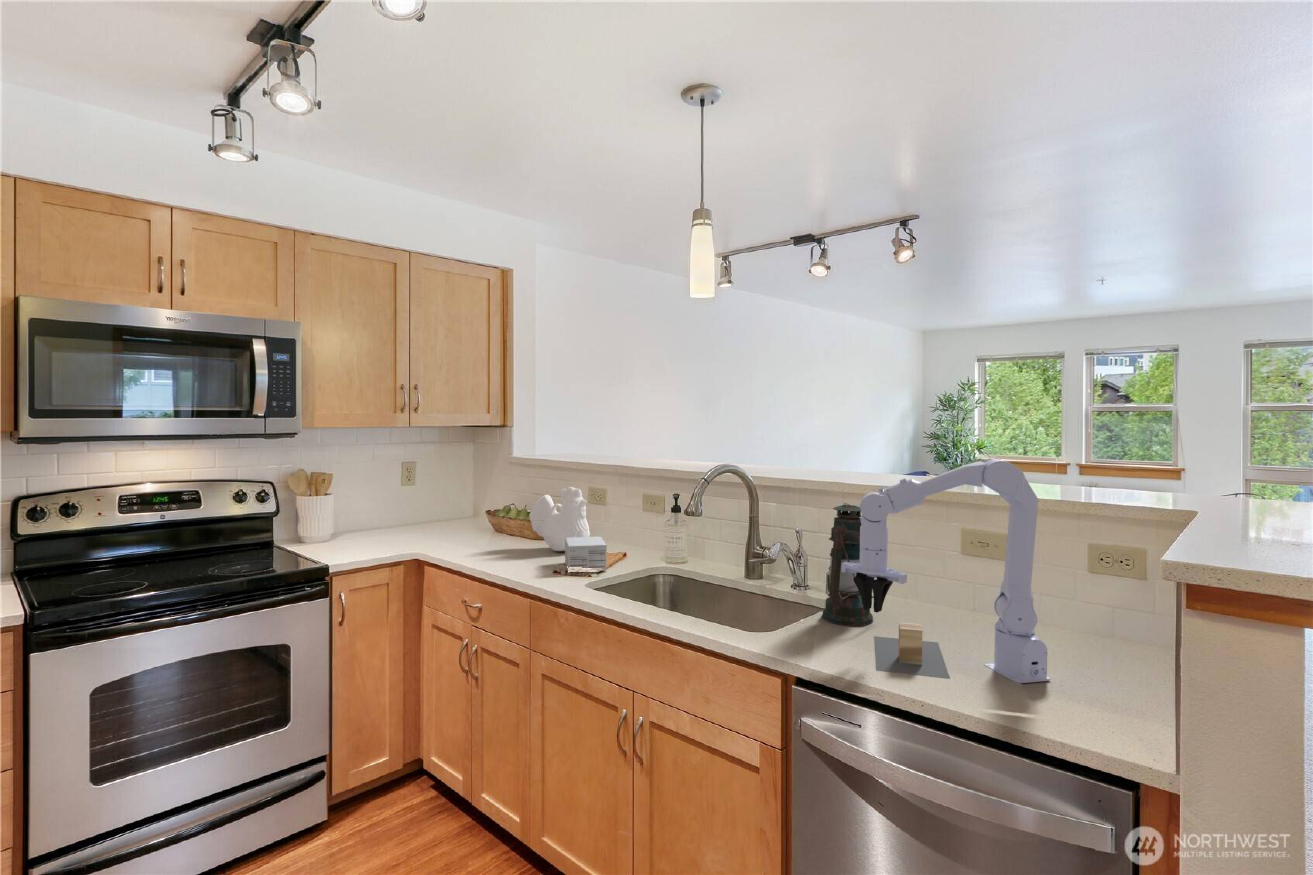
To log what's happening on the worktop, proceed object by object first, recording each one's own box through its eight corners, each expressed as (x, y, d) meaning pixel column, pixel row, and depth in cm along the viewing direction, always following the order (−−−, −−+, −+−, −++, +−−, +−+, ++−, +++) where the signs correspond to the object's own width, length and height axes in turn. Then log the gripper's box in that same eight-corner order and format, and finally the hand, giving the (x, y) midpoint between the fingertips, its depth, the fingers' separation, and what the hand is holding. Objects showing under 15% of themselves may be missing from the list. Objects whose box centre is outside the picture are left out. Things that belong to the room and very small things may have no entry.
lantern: (839, 605, 184) (840, 497, 183) (891, 615, 175) (893, 502, 174) (807, 622, 169) (809, 505, 168) (862, 634, 160) (864, 510, 159)
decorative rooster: (598, 549, 259) (598, 486, 258) (571, 556, 245) (571, 489, 245) (550, 542, 273) (550, 482, 272) (522, 548, 260) (522, 485, 259)
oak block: (921, 666, 139) (922, 630, 138) (899, 663, 140) (900, 628, 140) (920, 658, 143) (920, 624, 143) (898, 656, 144) (898, 622, 144)
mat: (950, 680, 132) (950, 678, 132) (876, 672, 136) (876, 670, 136) (937, 644, 153) (937, 642, 153) (874, 638, 157) (874, 636, 157)
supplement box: (607, 572, 222) (607, 544, 222) (567, 574, 220) (567, 546, 219) (601, 561, 239) (601, 535, 238) (564, 563, 236) (564, 536, 236)
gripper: (914, 550, 142) (913, 613, 142) (853, 540, 152) (852, 599, 153) (898, 555, 137) (897, 620, 137) (836, 544, 147) (835, 605, 148)
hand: (872, 610), depth 145 cm, fingers closed
